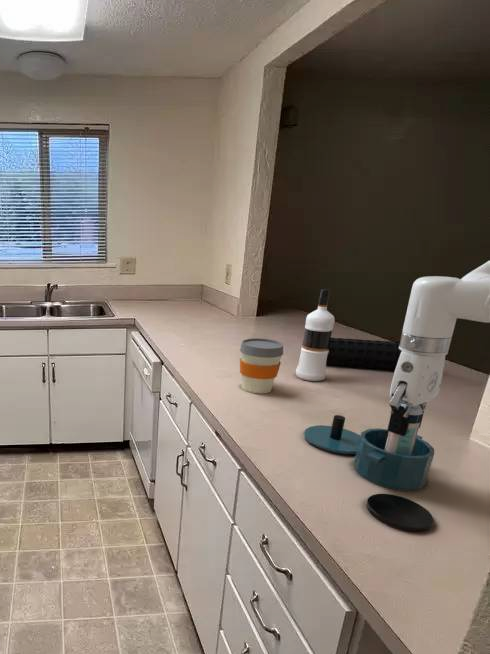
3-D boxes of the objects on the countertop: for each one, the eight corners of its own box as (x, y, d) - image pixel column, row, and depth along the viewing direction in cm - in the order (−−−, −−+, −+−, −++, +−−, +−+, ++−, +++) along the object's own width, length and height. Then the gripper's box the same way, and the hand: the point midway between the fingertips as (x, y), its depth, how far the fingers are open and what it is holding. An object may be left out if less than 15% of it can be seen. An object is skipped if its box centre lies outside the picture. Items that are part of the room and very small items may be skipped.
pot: (441, 475, 92) (452, 443, 89) (398, 502, 83) (408, 468, 80) (378, 450, 102) (386, 421, 99) (334, 471, 93) (341, 440, 90)
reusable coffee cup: (259, 379, 147) (265, 336, 142) (286, 392, 136) (293, 346, 131) (227, 383, 143) (232, 340, 138) (252, 397, 132) (258, 350, 127)
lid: (378, 446, 103) (385, 421, 101) (346, 462, 97) (352, 435, 94) (323, 425, 114) (328, 401, 112) (291, 437, 108) (296, 413, 105)
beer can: (396, 451, 93) (408, 399, 89) (416, 462, 89) (430, 408, 85) (377, 454, 92) (388, 402, 88) (397, 465, 88) (410, 411, 84)
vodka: (288, 374, 152) (303, 288, 141) (310, 371, 154) (325, 286, 144) (309, 383, 143) (325, 292, 133) (331, 380, 146) (349, 290, 136)
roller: (303, 362, 159) (307, 335, 159) (299, 362, 169) (302, 336, 168) (426, 372, 148) (430, 342, 147) (414, 371, 157) (417, 344, 157)
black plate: (442, 519, 78) (444, 515, 78) (415, 539, 73) (417, 535, 73) (383, 492, 86) (384, 487, 86) (355, 508, 81) (356, 504, 81)
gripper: (425, 355, 75) (402, 448, 81) (467, 340, 83) (444, 426, 89) (379, 346, 81) (361, 433, 87) (423, 333, 89) (403, 413, 95)
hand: (403, 428), depth 88 cm, fingers closed on beer can, 4 cm apart
